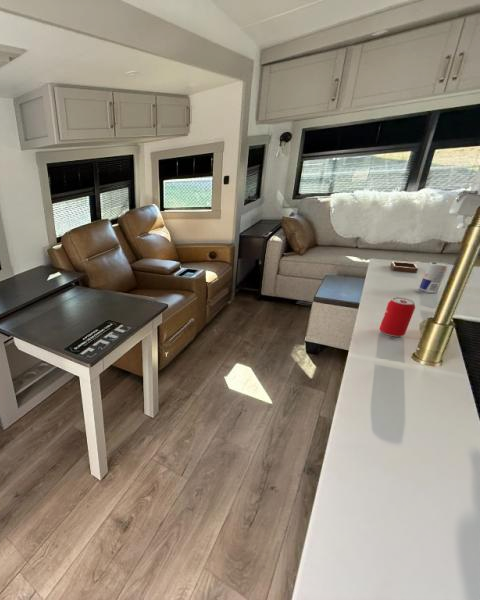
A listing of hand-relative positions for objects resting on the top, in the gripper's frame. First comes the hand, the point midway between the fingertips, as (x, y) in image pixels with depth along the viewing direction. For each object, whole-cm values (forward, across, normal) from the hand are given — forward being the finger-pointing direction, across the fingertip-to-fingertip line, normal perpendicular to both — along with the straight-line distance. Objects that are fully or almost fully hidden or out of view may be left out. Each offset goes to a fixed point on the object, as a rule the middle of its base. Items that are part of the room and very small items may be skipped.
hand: (473, 229), depth 123 cm
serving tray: (+20, +4, +26) cm, 32 cm away
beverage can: (+38, -47, -29) cm, 66 cm away
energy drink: (+26, -8, +1) cm, 27 cm away
